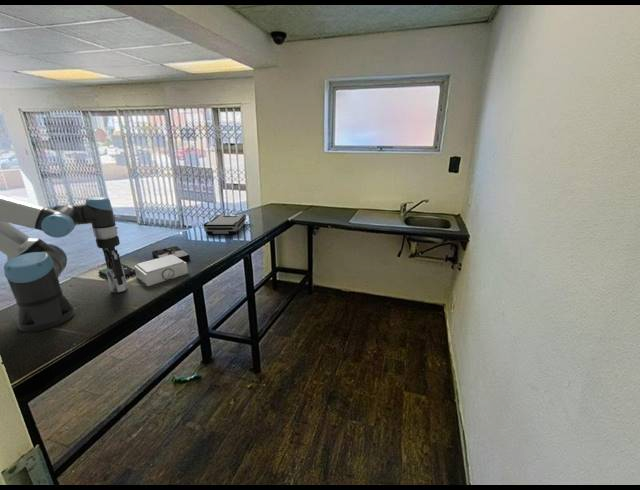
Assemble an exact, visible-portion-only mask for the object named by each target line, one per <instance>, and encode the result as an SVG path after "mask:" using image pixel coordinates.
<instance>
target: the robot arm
mask: <svg viewBox="0 0 640 490" xmlns="http://www.w3.org/2000/svg"><path fill="white" fill-rule="evenodd" d="M12 224H13V225H12ZM89 224H91V227H92V232H93V235H94V238H95V243H96V247H97V248H99V249H101V250H102V252H103V256H104V260H105V265H106V268H110V267H112V269H113V272H114V275H115V277H113V279H115V283H116V287H117V291H118V292H117V293H120V292H121V291H122V292H125V291H126V290H127V289H125V285H124V281H123V276H124V274H123V270H122V266H121V264H122V263H121V260H120V259H121V258H120V254H119V253H118V249H116V247H118V246H119V245H120V243H121V241H120V238H119V235H118V230H117V229H119V226H118V225H117V224H116V220H115V216H114V210H113V207H112V203H111V201H110V198H108V197H107V196H96V197H94V196H93V197H89V198H86V199H85V203H81V204H79V203H78V204H65V205H60V204H59V205H58V204H57V205H52V206H47V207H44V206H41V205H37V204H33V203H29V202H25V201H23V200H19V199H15V198H12V197H8V196H4V195H0V252H1V253H2V254H4V255H5V256H6V259H7V261H6V262H5V263H4V265H3V271H4V277H5V278H6V280H7V282H8V285H9V287H10V289H11V290H10V291H11V292H12V295H13V297H14V299H15V302H16V304H17V314H16V315H17V317H16V325H17V328H18V329H19V331H21V332H25V333H33V332H41V331H45V330H49V329H51V328H54V327H57V326H59V325H61V324H64V323H65V322H67V321H69V320H70V319H72V317H74V316H75V315H76V308H75V306H74V304H73V303H72V302H71V301H70V300H69V299H68V298H67V297H66V295H64V293H63V290H62V286H61V282H60V281H59V278H60V276H61V274H62V272H63V271H64V270H65V268H66V266H67V263H68V256H67V253H66V252H65V250H64V249H63V248H61V246H58V245H55V244H51V243H47V242H45V241H44V240H42V239H41V238H39V237H30V236H28V235H27V234H26V233H24V232H22V231H21V230H20V229H18V228H17V227H15V226H14V225H17V226H20V227H27V228H29V229H33V230H39V231H41V232H43V233H44V234H45V235H47V236H49V237H52V238H57V239H58V238H63V237H66V236H68V235H69V234H71V233H72V232H73V230H74V229H75V227H76V226H79V225H89Z"/></svg>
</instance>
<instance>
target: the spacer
mask: <svg viewBox="0 0 640 490" xmlns="http://www.w3.org/2000/svg"><path fill="white" fill-rule="evenodd" d="M106 268H107V267H106ZM106 268H105V269H106ZM122 270H123V274H124V276H123V281H124V285H125V289H126V290H128V288H129V287H128V282H127V278H125V273H124V269H123V266H122ZM106 274H107V278H108V279H107V281H108V285H109V289H110V292H111V293H115V294H116V293H119V292H118V291H117V287H116V283H115V279H113V277H115V275H114V272H113V269H112V267H110V268H107V269H106ZM121 292H123V291H121Z"/></svg>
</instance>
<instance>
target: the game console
mask: <svg viewBox="0 0 640 490" xmlns="http://www.w3.org/2000/svg"><path fill="white" fill-rule="evenodd" d="M246 221H247V214H239V215H226V214H217V215H216V216H215V217H214V218H212V219H211V220H210V221H207V222H205V223H204V224H203V229H204V231H203V232H205V233H206V235H207V236H218V235H219V234H220V235H226V234H227V236H237V235H238V233H240V231H241V229H242V228H243V227H244V226H245V223H246Z"/></svg>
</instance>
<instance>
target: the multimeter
mask: <svg viewBox="0 0 640 490" xmlns="http://www.w3.org/2000/svg"><path fill="white" fill-rule="evenodd" d="M151 254H152V255H151V256H152V258H154V259H157V258H161V257H165V256H168V255H174V256H176V257H178V258H179V259H181V260H183V261H184V262H186V263H187V262H189V261H191V259H190V254H188V252H185V251H184V250H183V249H181V248H180V247H179V246H171V247H167V248H161V249H157V250H153V251H151Z"/></svg>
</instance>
